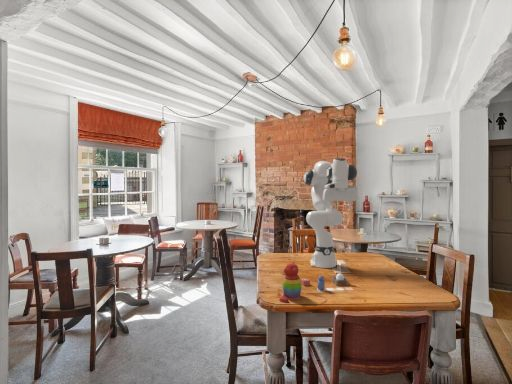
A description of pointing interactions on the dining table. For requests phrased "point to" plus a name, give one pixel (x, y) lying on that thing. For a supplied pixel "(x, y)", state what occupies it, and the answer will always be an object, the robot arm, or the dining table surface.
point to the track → (337, 289)
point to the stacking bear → (291, 283)
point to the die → (305, 282)
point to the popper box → (340, 281)
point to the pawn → (321, 283)
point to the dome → (339, 277)
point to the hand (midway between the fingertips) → (340, 208)
